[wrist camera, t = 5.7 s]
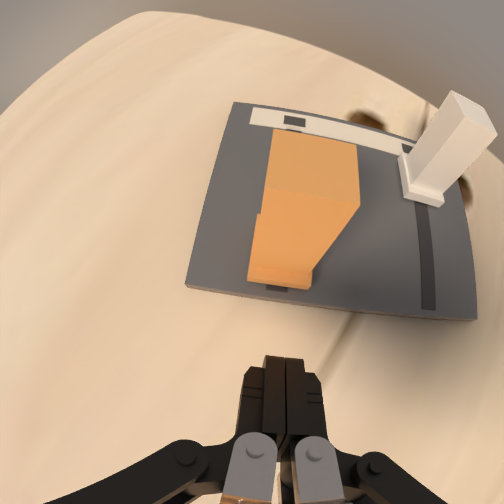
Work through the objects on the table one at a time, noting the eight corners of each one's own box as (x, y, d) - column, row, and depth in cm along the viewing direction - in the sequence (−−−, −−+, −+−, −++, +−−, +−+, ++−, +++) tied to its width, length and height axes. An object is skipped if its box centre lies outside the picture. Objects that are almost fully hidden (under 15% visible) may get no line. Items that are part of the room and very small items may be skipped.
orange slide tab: (312, 229, 20) (360, 135, 11) (307, 289, 19) (367, 223, 10) (256, 220, 20) (269, 117, 11) (246, 280, 19) (254, 203, 10)
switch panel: (445, 159, 26) (450, 153, 25) (470, 321, 19) (478, 318, 18) (233, 109, 26) (233, 100, 25) (187, 287, 20) (184, 283, 19)
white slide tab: (430, 169, 23) (482, 103, 14) (439, 207, 22) (503, 143, 13) (397, 158, 23) (445, 83, 14) (403, 197, 22) (465, 122, 13)
